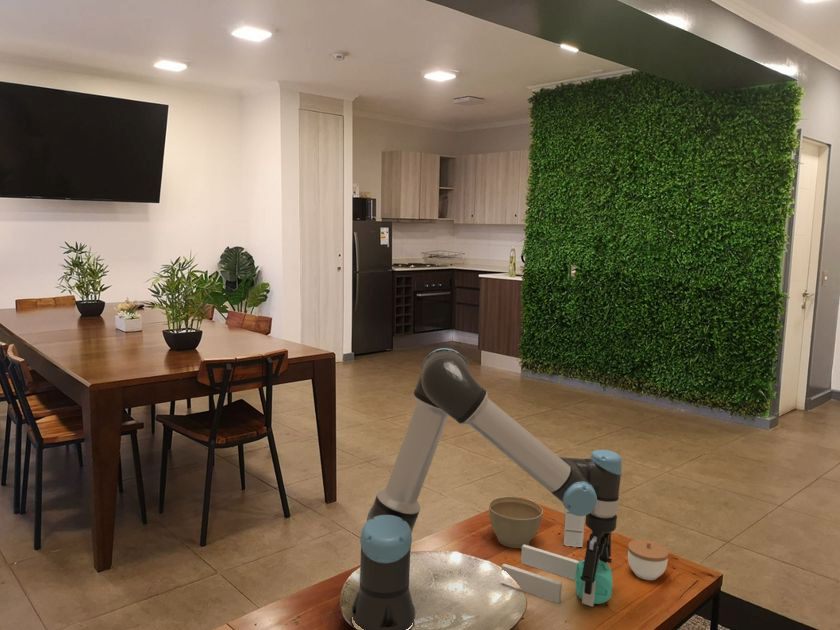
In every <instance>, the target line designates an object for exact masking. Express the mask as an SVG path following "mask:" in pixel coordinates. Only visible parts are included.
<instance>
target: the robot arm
mask: <svg viewBox="0 0 840 630" xmlns="http://www.w3.org/2000/svg"><path fill="white" fill-rule="evenodd" d="M412 396H413V397H414V400H415V403H416V404H415V407H414V409H413V411H412V415H411V417H410V420H409V423H408V426H407V428H406V432H405V433H404V437H403V440H402V442H401V445H400V447H399V450H398V453H397V457H396V459H395V462H394V464H393V466H392V470H391V472H390V475H389V478H388V481H387V484H386V486H385V488H382V489H380V490H378V491H377V493H376V496H375V498H374V502H373V504H372V506H371V508H370V509H369V511H368V513H367V517H366V522H365V523H364V525H363V527H362V529H361V534H360V539H359V543H360V561H359V562H360V567H359V587H358V591H357V594H356V597H355V599H354V601H353V605H352V606H351V611H350V613H351V614H350V616H351V615H352V617H353V620H354V621H355V623H356V624H357V625H358V626H360V627H361V628H362V629H364V630H406V629H408V628H409V627H410V626H411V625H412V623H413V622H414V619H415V620H416V609H415V605H414V604H413V599H412V596H411V591H410V570H411V567H410V566H411V551H412V550H411V549H412V548H411V547H412V540H413V538H412V536H413V535H412V533H413V530H414V527H415V525H416V523H417V519H418V517H419V515H420V514H419V513H420V512H421V506H420V503H419V501H418V499H419V497H420V494H421V491H422V488H423V486H424V483H425V480H426V477H427V475H428V472H429V469H430V467H431V464H432V461H433V458H434V455H435V454H436V450H437V448H438V445H439V444H440V443H439V442H440V440H441V437H442V434H443V432H444V429H445V426H446V423H447V421H448V418H449V416H450V417H451V418H452V419H453V420H455V421H456V422H457V423H458V424H460V425H468V426H469V427H470V428H471V429H473V431H475V432H476V433H478V434H479V435H480V436H481V437H483V438H484V439H485V440H487V441H488V442H489V444H491V445H492V446H493V447H495V448H496V449H497V450H499V451H500V452H501V453H502V454H503V455H504V456H506V457H507V458H508V459H510V460H511V461H512V462H513V463H515V465H517V466H518V467H519V468H521V469H522V470H523V471H524V472H526V473H527V474H528V475H529V476H530V477H532V478H533V479H534V480H535V481H536V482H537V483H539V484H540V485H541V486H542V487H544V488H545V489H546V490H547V491H548V492H550V493H551V494H552V495H553V496H554V497H555V498H557V499H558V500H559V501H561V503H562V504H563V506H564V508H566V509H567V510H568V511H569V512H570V513H571V514H573V515H576V516H585V519H584V525H586V527H587V528H588V529H589V530H591V533H590V534H589V539H587V540H586V551H585V555H584V559H585V561H584V567H583V573H582V576H581V580H583V581H584V586H583V597H582V599H581V604H584V605H587V606H590V607H594V605H595V604H594V595H595V584H596V581H595V575H596V571H597V566H598V562H599V560H600V561H603V562H605V563H606V564H608V565H609V564H611V563H612V561H613V560H612V558H611V557H612V532H614V531H616V529H617V521H618V519H617V518H618V516H617V515H618V513H619V512H618V511H619V501H620V500H619V499H620V498H619V496H620V488H621V487H620V486H621V479H622V474H623V473H622V468H623V467H622V466H623V465H622V456H620V454H618V453H617V452H615V451H612V450H609V449H596V450H593V451H592V452H591V454H590V458H575V457H560V456H558V455H557V454H556V453H554V452H553V451H552V450H551V449H550V448H548V447H547V446H546V445H545V444H544V443H542V442H541V441H540V440H539V439H538V438H536V436H534V435H533V434H532V433H530V432H529V431H528V430H527V429H526V428H524V427H523V426H522V425H521V424H520V423H519V422H517V421H516V420H515V419H514V418H512V417H511V416H510V415H508V413H507V412H505V411H504V410H503V409H501V407H499V406H498V405H497V404H496V403H495V402H493V400H491V399H490V398H489V395H488V391H487V390H486V389H485V388H483V387H482V386H481V385H480V384H479V383H478V382H477V381H476V379H475V378H474V376H473V375H472V374H471V372H470V366H469V363H468V361H467V359H466V358H465V356H463V354H461V353H460V352H458V351H457V350H454V349H453V348H448V347H446V348H443V347H442V348H438V349H435V350H433V351H431V352H430V353H429V354H428V355H427V356H425V358H424V359H423V362H422V365H421V371H420V374H419V378H418V379H417V383H416V385H415V388H414V391H413V395H412Z"/></svg>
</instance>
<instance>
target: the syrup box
mask: <svg viewBox="0 0 840 630" xmlns="http://www.w3.org/2000/svg"><path fill="white" fill-rule="evenodd" d="M564 508H565V507H564ZM585 520H586V515H585V516H576V515H573V514H571V513H570V512H569V511H568V510H567V509H566V508H565V509H564V523H563V524H564V526H563V546H564V545H565V547H569V546H573V547H572V548H576V547H583V546H584V536H585V534H584V532H585ZM583 548H584V547H583Z"/></svg>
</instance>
